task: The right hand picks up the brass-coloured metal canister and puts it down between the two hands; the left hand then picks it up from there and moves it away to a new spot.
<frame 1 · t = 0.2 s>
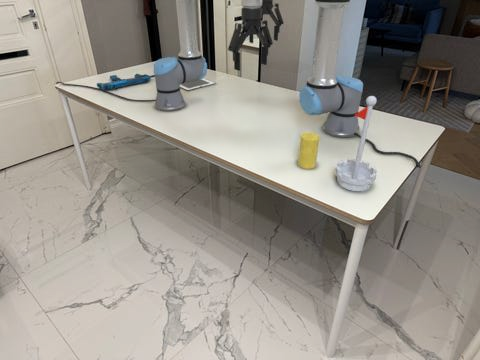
left hand: (250, 67, 134), 28 cm above the table, tool pointing down, fingers open, 13 cm apart
right hand: (263, 41, 166), 30 cm above the table, tool pointing down, fingers open, 13 cm apart
canister: (306, 164, 125), on the table
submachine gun: (125, 82, 209), on the table
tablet: (187, 81, 211), on the table
flag stand: (353, 182, 115), on the table
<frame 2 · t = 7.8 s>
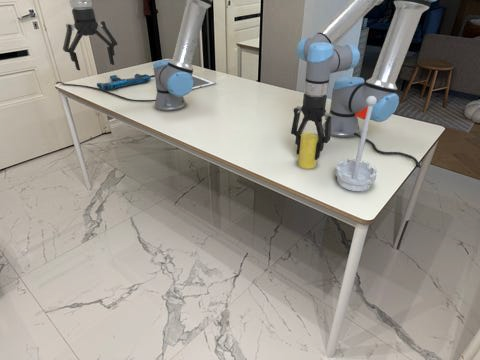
left hand: (95, 66, 137), 27 cm above the table, tool pointing down, fingers open, 13 cm apart
right hand: (307, 155, 123), 4 cm above the table, tool pointing down, fingers closed on canister, 6 cm apart
canister: (306, 164, 125), on the table, touching right hand
everything else where it was.
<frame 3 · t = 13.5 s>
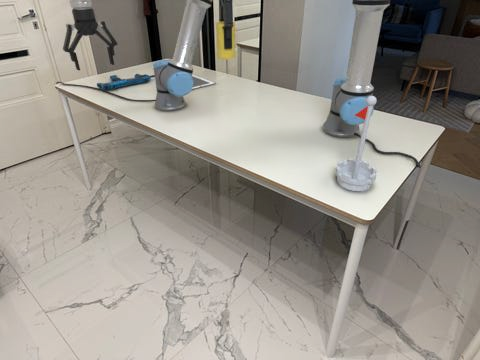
left hand: (95, 66, 137), 27 cm above the table, tool pointing down, fingers open, 13 cm apart
right hand: (226, 46, 121), 38 cm above the table, tool pointing down, fingers closed on canister, 6 cm apart
canister: (226, 57, 123), point 34 cm above the table, touching right hand
everything else where it was.
when the right hand's fingers open (5 cm above the table, at t = 19.1 s): canister drops 1 cm, on the table.
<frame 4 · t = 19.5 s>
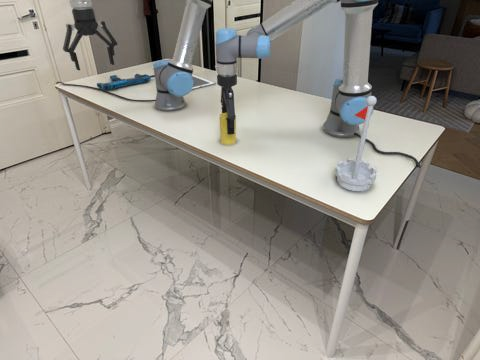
left hand: (95, 66, 137), 27 cm above the table, tool pointing down, fingers open, 13 cm apart
right hand: (228, 127, 138), 6 cm above the table, tool pointing down, fingers open, 12 cm apart
canister: (228, 141, 141), on the table
everything else where it was.
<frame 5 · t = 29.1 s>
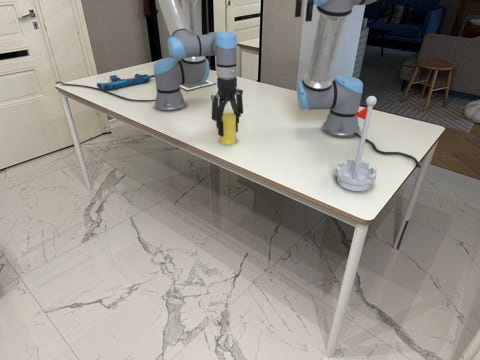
left hand: (228, 133, 139), 4 cm above the table, tool pointing down, fingers closed on canister, 6 cm apart
right hand: (302, 19, 155), 41 cm above the table, tool pointing down, fingers open, 13 cm apart
canister: (228, 141, 141), on the table, touching left hand
everything else where it was.
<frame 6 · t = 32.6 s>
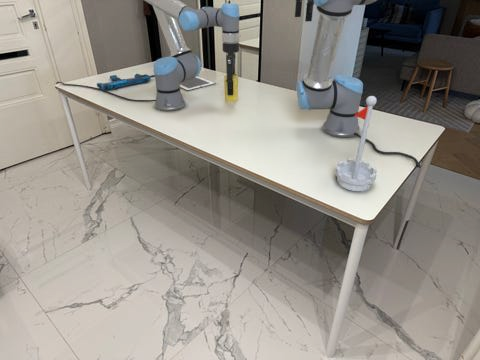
left hand: (231, 92, 165), 9 cm above the table, tool pointing down, fingers closed on canister, 6 cm apart
right hand: (302, 19, 155), 41 cm above the table, tool pointing down, fingers open, 13 cm apart
canister: (231, 99, 167), point 6 cm above the table, touching left hand
everything else where it was.
when the left hand's fingers open (5 cm above the table, at t = 36.1 s): canister drops 1 cm, on the table.
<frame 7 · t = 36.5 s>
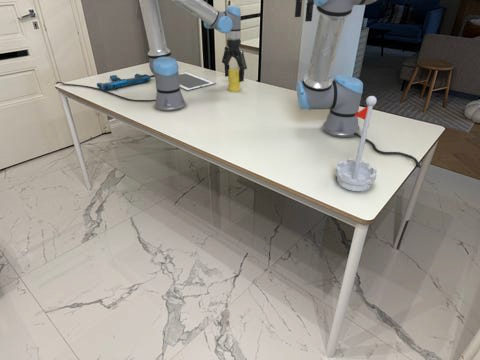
left hand: (234, 78, 194), 6 cm above the table, tool pointing down, fingers open, 12 cm apart
right hand: (302, 19, 155), 41 cm above the table, tool pointing down, fingers open, 13 cm apart
canister: (234, 89, 197), on the table
everything else where it was.
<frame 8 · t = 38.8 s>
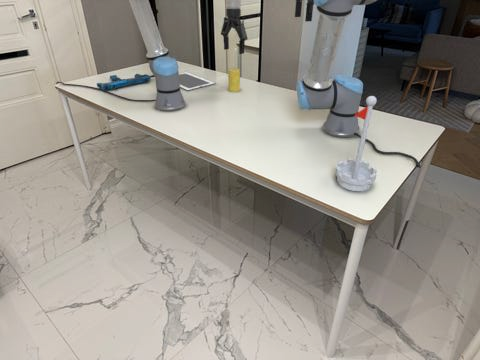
left hand: (233, 51, 185), 21 cm above the table, tool pointing down, fingers open, 13 cm apart
right hand: (302, 19, 155), 41 cm above the table, tool pointing down, fingers open, 13 cm apart
nothing on the table moved.
at the end: canister inside the target area (0.0 cm from its centre), on the table; canister tilted 0°; the two hands never held the canister at the same time; the left hand is holding nothing; the right hand is holding nothing; canister at rest at the end (0.0 cm/s) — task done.
